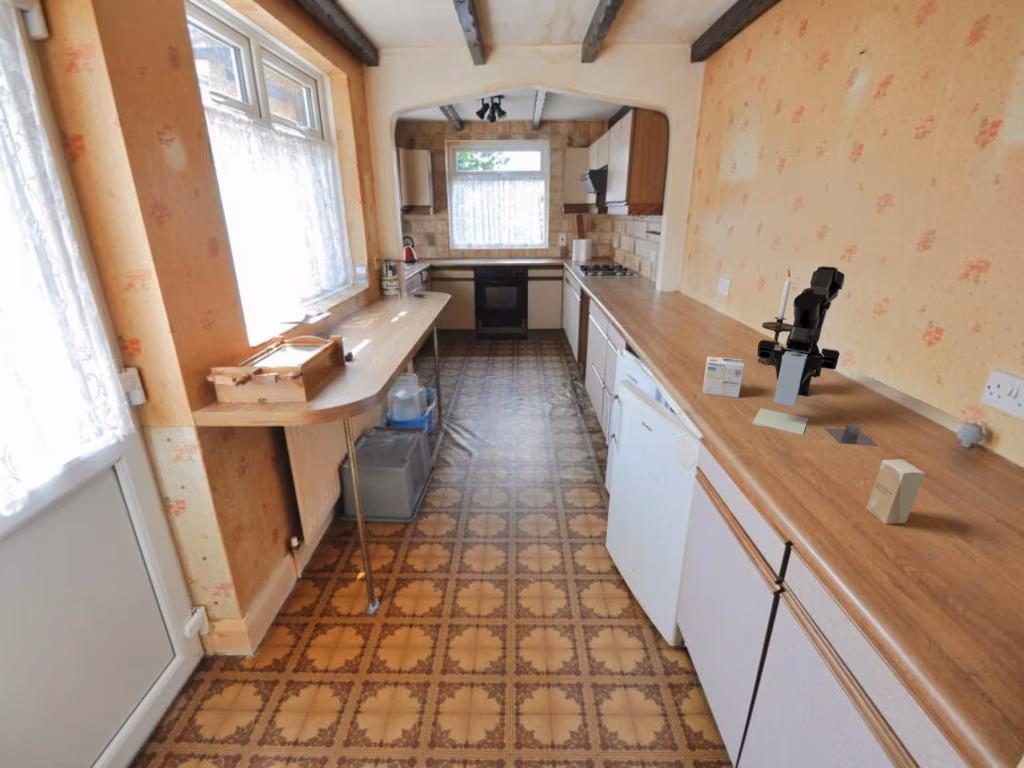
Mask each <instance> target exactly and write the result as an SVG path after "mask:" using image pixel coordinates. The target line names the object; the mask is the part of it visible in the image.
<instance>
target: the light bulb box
mask: <svg viewBox="0 0 1024 768" xmlns="http://www.w3.org/2000/svg"><path fill="white" fill-rule="evenodd" d="M744 368H745V363H744V361H743V359H739V358H729V357H720V356H719V357H717V356H716V357H715V356H708V355H707V357H706V362H705V370H704V376H703V383H702V384H703V385H702V394H703V395H704V394H706V395H712V396H721V397H730V398H740V393H741V385H742V380H743V375H744Z"/></svg>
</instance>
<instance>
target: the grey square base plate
mask: <svg viewBox="0 0 1024 768" xmlns="http://www.w3.org/2000/svg"><path fill="white" fill-rule="evenodd" d="M823 429H824V431H826V432H827V433H828V434H829V435H830V436H831V437H832V438H834V440H836V442H838V444H843V445H853V446H854V445H856V446H857V445H858V446H868V447H869V446H870V447H880V446H879V445H878V443H876V442H875V441H874V440H872V439H871V438H870V437H869V436H868V435H866V434H865V433H864V432H863V431H862V430H861V428H860V426H858V425H857V424H853V423H846V424H845V428H832V427H831V428H830V427H823Z"/></svg>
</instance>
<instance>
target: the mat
mask: <svg viewBox="0 0 1024 768" xmlns="http://www.w3.org/2000/svg"><path fill="white" fill-rule="evenodd" d="M808 420H809V418H807V417H804V416H798V415H793V414H788V413H784V412H779V411H775V410H770V409H766V408H762V407H760V409H759V410H758V412H757V413H756V416H755V417H754V419H753V421H752V422H751V424H752V425H754V426H758V427H763V428H765V427H767V428H772V429H777V430H781V431H784V432H785V431H786V432H789V433H792V434H793V433H794V434H798V435H802V436H804V432H805V429H806V426H807V425H808Z"/></svg>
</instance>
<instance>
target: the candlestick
mask: <svg viewBox="0 0 1024 768" xmlns="http://www.w3.org/2000/svg"><path fill="white" fill-rule="evenodd" d="M790 278H791V272H790V269H789V268H788V269H787V279H786V281H784V286H783V290H782V296H781V300H780V304H779V308H778V313H777V317H774V319H775V320H776V322H775V321H766V322H762V325H761V327H762V328H763V329H766V330H770V331H773V332H774V338H773V341H776V345H779V346H780V342H779V337H780V334H781V333H782V332H783V333H784V332H785V333H786V332H789V333H790V330H791V327H792V326H793V324H791V323H785V322H784V320H787V318H786V317H784V316H785V313H786V308H787V303H788V298H789V295H790V294H789V293H790V288H791V283H792V281H791V280H790ZM758 361H759V362H758ZM757 362H758V363H760V362H761V363H760V364H762V363H763V364H762V365H765V364H767V365H766V366H769V365H774V363H773V362H771V361H770V359H766V358H760V357H758V359H757ZM781 363H782V362H781Z"/></svg>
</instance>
